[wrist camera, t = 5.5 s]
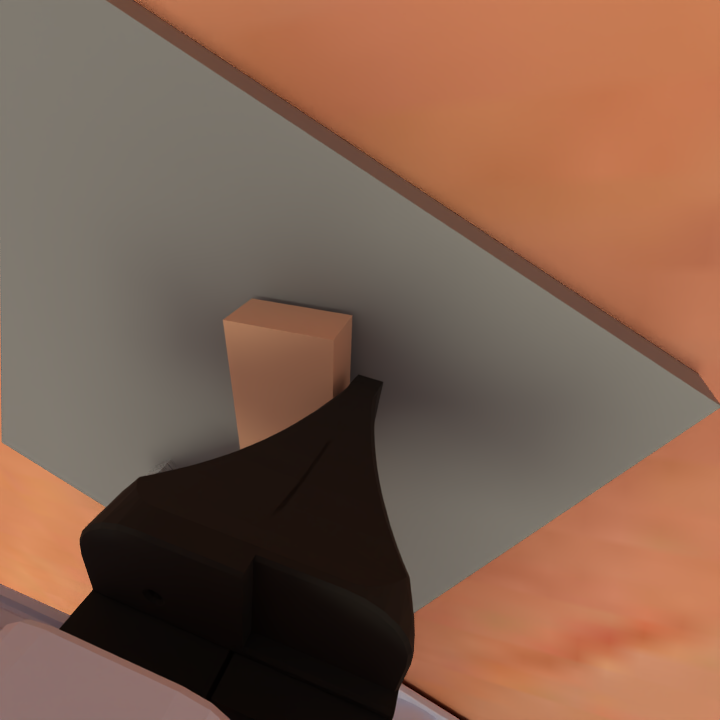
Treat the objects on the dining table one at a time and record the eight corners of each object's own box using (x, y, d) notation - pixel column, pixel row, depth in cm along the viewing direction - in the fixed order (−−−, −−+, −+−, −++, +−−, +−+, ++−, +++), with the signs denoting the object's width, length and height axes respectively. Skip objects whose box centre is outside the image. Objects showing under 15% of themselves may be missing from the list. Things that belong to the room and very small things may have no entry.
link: (347, 624, 19) (310, 740, 16) (274, 600, 20) (224, 705, 17) (362, 317, 12) (298, 410, 8) (242, 297, 12) (134, 373, 9)
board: (356, 627, 23) (347, 657, 21) (30, 423, 22) (1, 442, 21) (698, 374, 11) (721, 406, 10) (54, -52, 11) (-4, -73, 10)
